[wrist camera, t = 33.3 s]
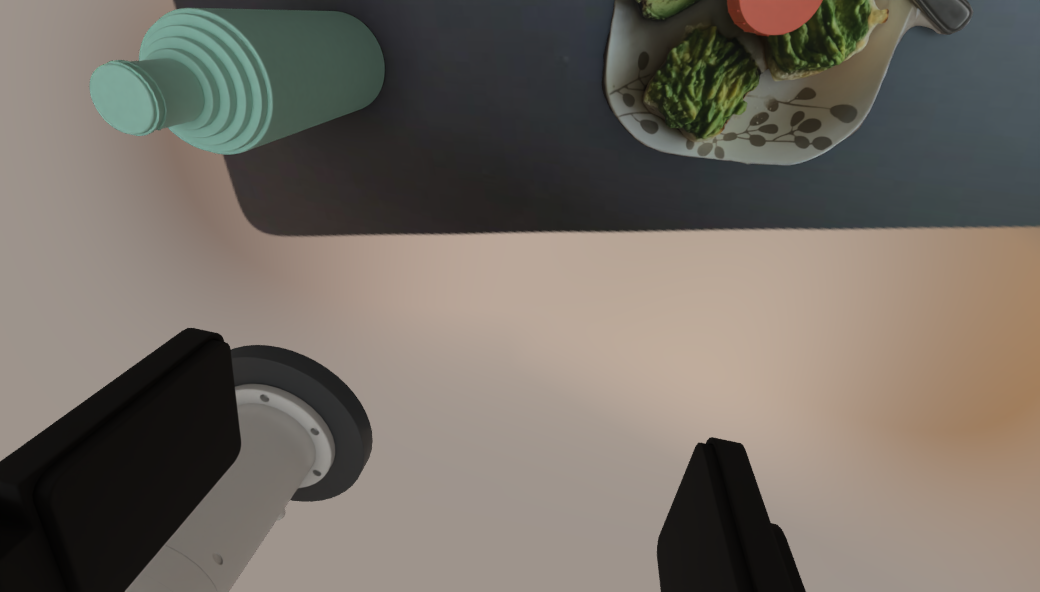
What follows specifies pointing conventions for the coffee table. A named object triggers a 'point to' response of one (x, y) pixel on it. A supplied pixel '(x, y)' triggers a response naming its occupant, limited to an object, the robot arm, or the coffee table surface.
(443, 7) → the coffee table surface
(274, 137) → the bottle
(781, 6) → the cap
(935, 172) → the coffee table surface
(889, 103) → the coffee table surface
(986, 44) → the coffee table surface
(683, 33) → the salad plate
